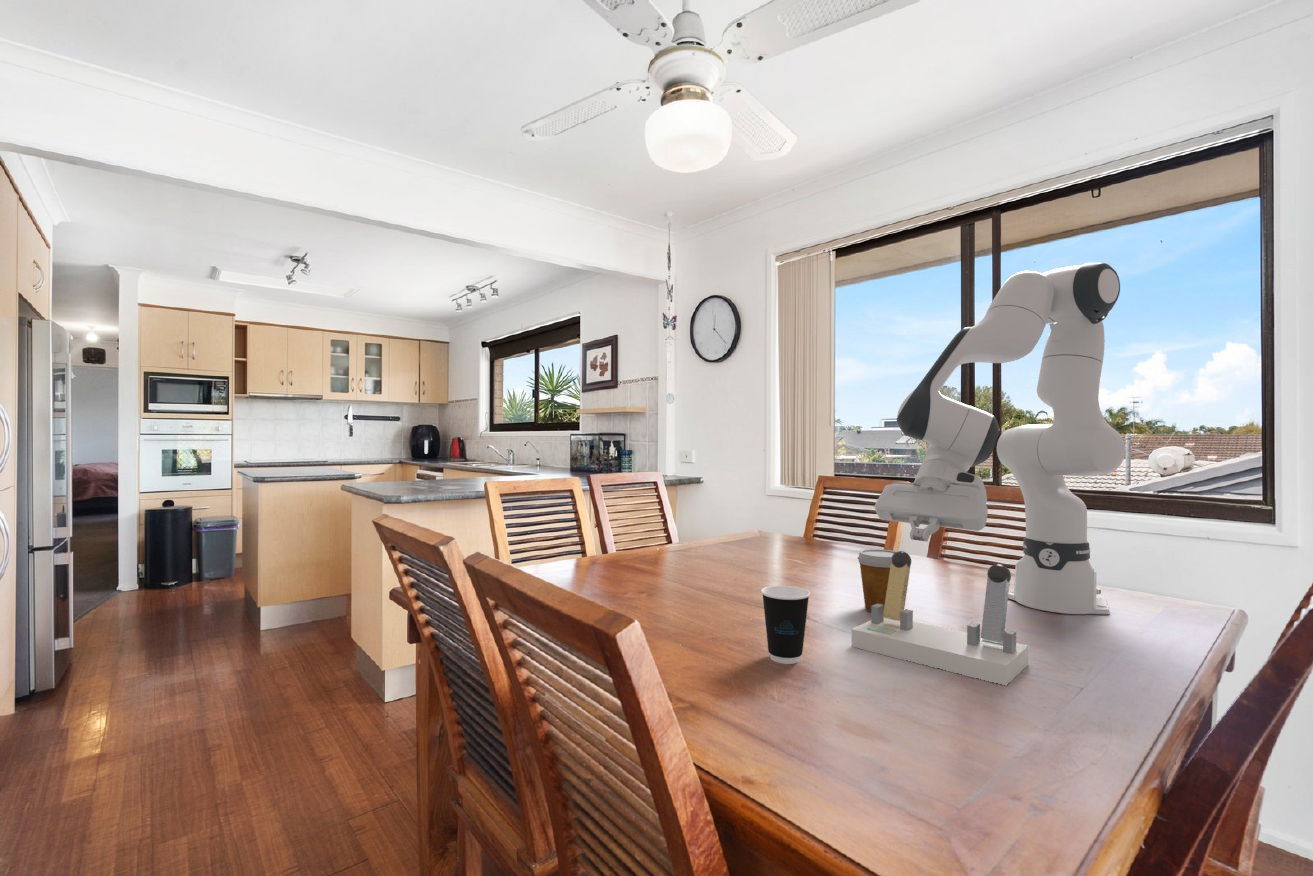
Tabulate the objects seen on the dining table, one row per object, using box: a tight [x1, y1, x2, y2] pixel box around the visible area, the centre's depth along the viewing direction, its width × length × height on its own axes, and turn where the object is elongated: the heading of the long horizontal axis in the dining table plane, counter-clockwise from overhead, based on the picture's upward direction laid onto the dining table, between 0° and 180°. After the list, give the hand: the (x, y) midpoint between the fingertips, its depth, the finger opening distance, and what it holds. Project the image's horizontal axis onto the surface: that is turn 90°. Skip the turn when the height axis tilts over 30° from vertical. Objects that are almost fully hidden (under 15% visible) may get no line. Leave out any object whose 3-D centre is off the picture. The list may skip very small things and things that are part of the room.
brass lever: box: [883, 550, 912, 621], centre depth 111 cm, size 3×3×12 cm
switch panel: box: [851, 604, 1029, 687], centre depth 103 cm, size 12×24×6 cm, turn 46°
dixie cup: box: [760, 585, 812, 665], centre depth 101 cm, size 8×8×11 cm
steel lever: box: [980, 563, 1012, 643], centre depth 99 cm, size 3×3×12 cm
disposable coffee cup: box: [857, 548, 898, 613], centre depth 129 cm, size 10×10×12 cm
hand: (918, 538), depth 117 cm, fingers closed
